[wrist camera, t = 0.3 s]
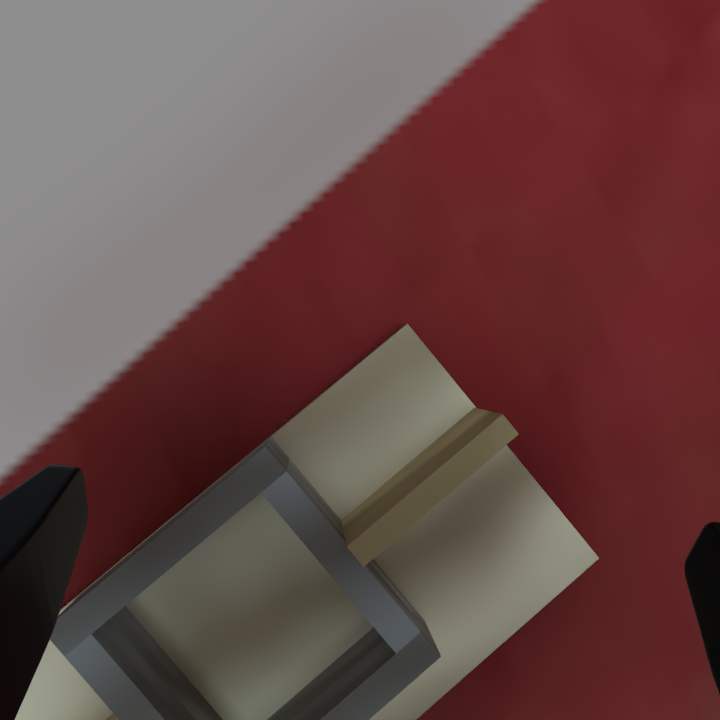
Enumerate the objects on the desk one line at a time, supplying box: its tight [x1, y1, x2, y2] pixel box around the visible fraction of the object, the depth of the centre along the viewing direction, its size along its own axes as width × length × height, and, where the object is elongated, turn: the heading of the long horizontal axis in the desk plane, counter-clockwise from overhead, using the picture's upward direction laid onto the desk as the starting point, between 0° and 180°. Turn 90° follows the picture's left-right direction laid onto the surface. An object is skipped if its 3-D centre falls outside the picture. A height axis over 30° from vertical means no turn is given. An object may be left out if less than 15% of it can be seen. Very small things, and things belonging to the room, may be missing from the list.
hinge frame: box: [15, 324, 599, 720], centre depth 22 cm, size 11×21×4 cm, turn 130°
